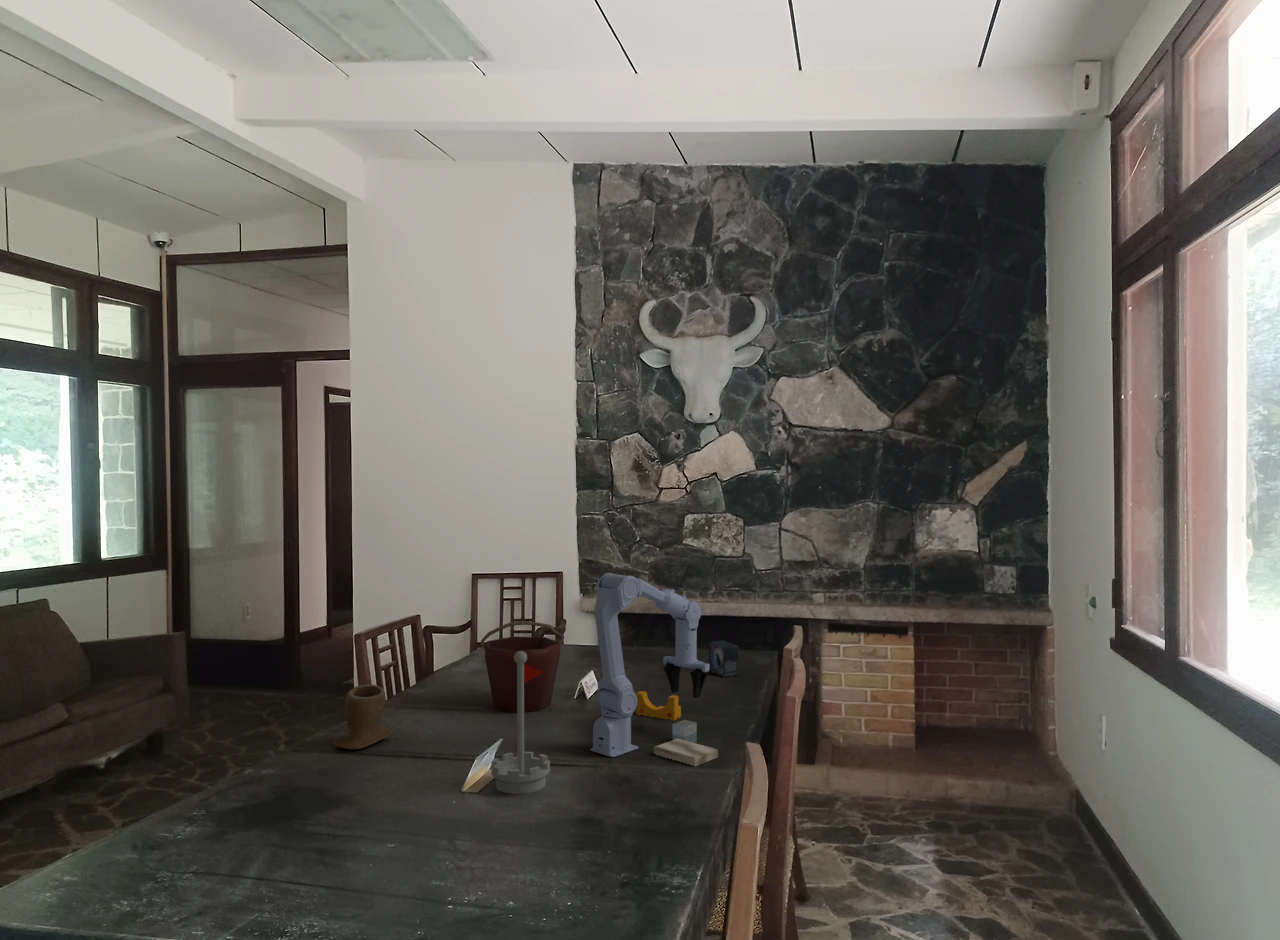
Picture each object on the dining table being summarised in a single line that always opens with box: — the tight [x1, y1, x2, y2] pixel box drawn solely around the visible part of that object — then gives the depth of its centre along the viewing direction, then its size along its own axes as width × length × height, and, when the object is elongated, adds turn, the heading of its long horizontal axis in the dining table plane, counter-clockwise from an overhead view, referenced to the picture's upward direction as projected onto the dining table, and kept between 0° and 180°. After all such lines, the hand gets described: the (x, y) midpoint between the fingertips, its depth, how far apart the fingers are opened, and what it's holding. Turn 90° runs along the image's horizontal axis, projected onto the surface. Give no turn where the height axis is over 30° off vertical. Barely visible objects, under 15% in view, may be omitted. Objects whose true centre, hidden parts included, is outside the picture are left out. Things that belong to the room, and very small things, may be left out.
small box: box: [708, 640, 739, 676], centre depth 301 cm, size 11×6×10 cm, turn 25°
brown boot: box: [333, 683, 393, 750], centre depth 225 cm, size 15×12×15 cm
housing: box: [671, 719, 698, 743], centre depth 226 cm, size 5×4×5 cm
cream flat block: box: [653, 739, 719, 767], centre depth 215 cm, size 9×13×2 cm
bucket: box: [479, 621, 566, 714], centre depth 260 cm, size 24×22×25 cm
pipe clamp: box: [636, 690, 682, 721], centre depth 250 cm, size 12×4×6 cm, turn 63°
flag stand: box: [490, 651, 551, 795], centre depth 196 cm, size 13×13×30 cm
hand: (685, 694), depth 236 cm, fingers open, 7 cm apart
